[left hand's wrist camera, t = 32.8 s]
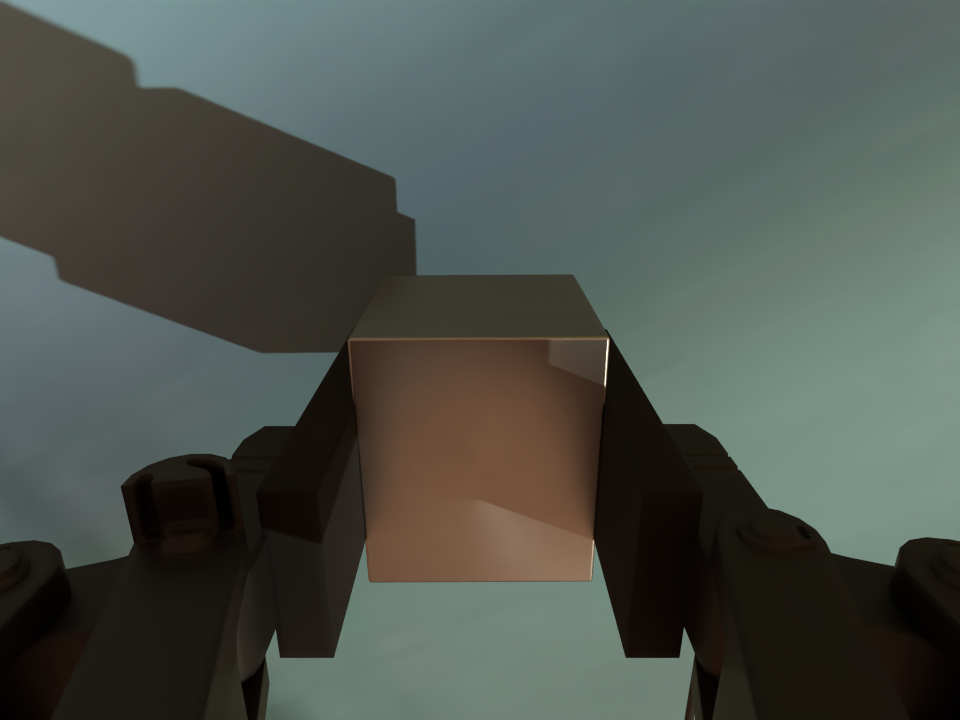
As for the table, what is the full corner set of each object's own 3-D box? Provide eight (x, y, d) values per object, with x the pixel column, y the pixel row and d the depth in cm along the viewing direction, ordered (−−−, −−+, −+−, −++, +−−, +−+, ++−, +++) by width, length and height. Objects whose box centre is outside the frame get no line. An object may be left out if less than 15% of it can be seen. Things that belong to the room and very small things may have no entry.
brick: (564, 465, 16) (592, 582, 12) (396, 466, 16) (368, 583, 12) (574, 274, 14) (610, 337, 10) (384, 275, 14) (346, 338, 10)
